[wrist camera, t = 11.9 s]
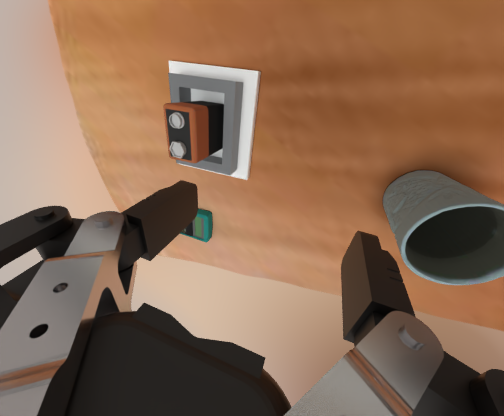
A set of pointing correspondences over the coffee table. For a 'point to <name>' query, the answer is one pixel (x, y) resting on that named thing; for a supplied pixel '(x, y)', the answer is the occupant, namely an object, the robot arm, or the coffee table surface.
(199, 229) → the digital multimeter
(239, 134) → the charging cradle
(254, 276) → the coffee table surface
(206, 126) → the battery
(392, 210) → the grey cup
